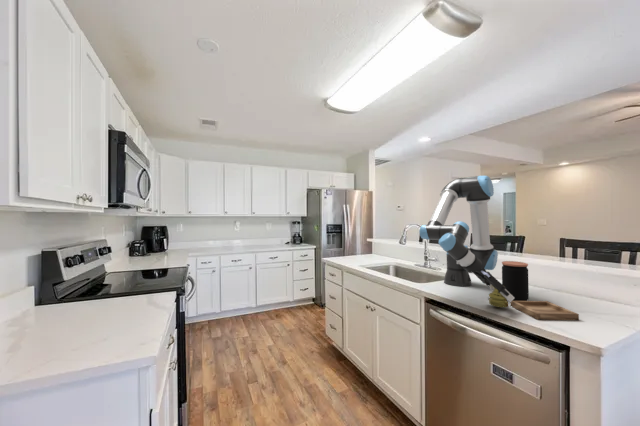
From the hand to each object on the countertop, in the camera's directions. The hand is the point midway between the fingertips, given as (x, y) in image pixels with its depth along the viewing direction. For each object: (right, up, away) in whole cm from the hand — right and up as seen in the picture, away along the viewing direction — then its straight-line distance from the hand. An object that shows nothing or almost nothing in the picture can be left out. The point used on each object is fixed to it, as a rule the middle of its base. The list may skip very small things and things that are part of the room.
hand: (506, 297), depth 120 cm
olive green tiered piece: (-3, -4, 0) cm, 5 cm away
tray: (+11, -5, -6) cm, 14 cm away
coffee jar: (+14, -5, +13) cm, 20 cm away
